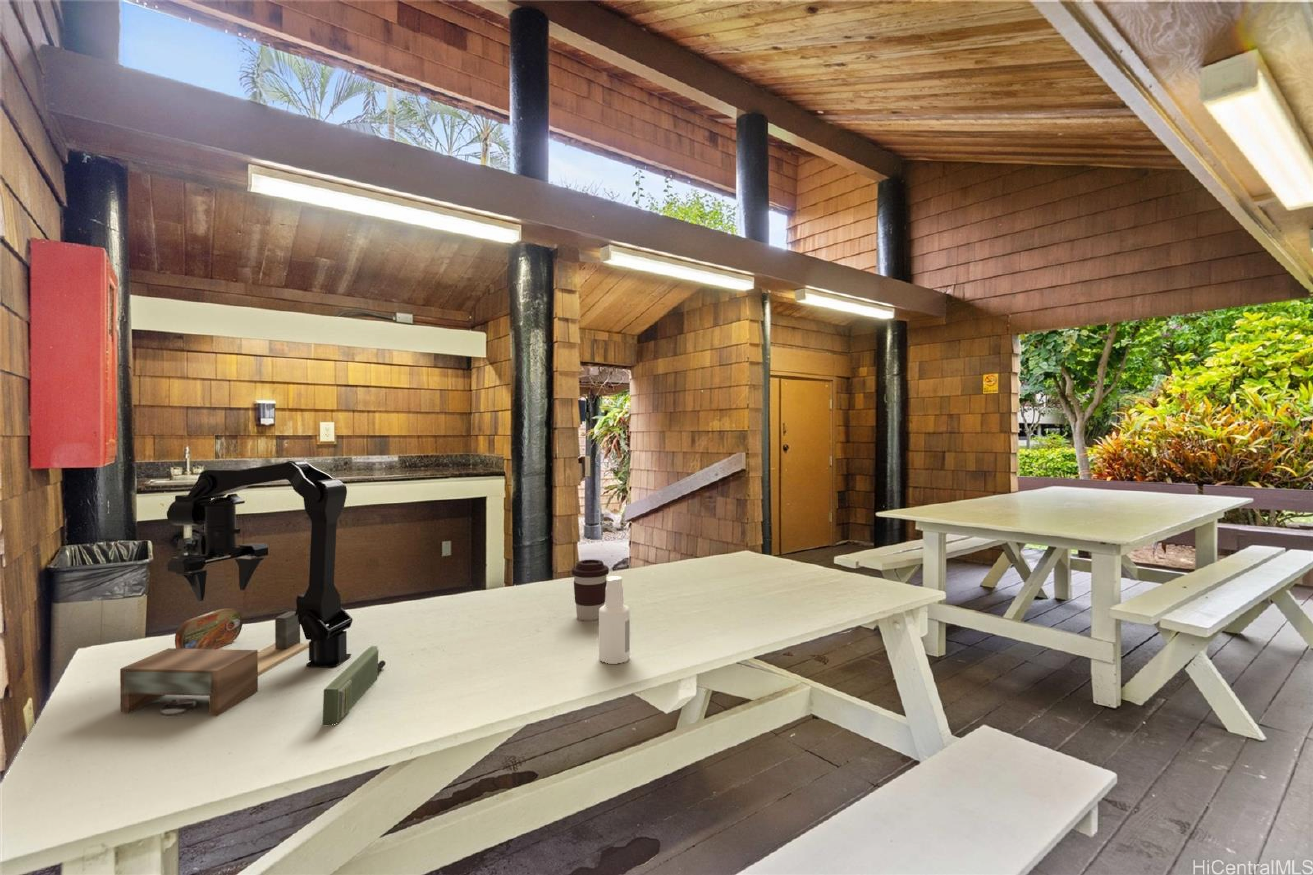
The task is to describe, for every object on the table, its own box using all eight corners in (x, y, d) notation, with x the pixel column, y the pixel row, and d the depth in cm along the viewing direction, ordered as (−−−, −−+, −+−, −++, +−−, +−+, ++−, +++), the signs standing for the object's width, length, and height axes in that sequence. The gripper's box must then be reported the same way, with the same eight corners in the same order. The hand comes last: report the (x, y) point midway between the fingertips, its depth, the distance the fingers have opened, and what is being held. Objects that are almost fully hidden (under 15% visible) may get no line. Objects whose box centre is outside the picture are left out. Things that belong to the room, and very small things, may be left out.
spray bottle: (636, 658, 133) (636, 577, 133) (613, 667, 128) (613, 583, 128) (615, 650, 138) (615, 572, 138) (592, 659, 133) (592, 578, 133)
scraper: (311, 645, 141) (311, 611, 141) (240, 686, 119) (240, 646, 118) (278, 644, 141) (278, 610, 141) (201, 685, 119) (201, 645, 119)
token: (202, 705, 111) (202, 698, 111) (180, 718, 106) (180, 711, 106) (176, 704, 111) (176, 698, 111) (153, 717, 106) (153, 710, 106)
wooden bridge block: (257, 691, 116) (257, 650, 116) (216, 716, 106) (216, 671, 106) (168, 689, 117) (168, 648, 117) (119, 714, 107) (118, 669, 107)
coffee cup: (606, 623, 158) (606, 566, 157) (569, 623, 158) (569, 566, 157) (610, 611, 167) (610, 558, 167) (574, 611, 168) (574, 557, 167)
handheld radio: (318, 727, 103) (373, 669, 128) (338, 727, 103) (389, 669, 128) (319, 688, 103) (375, 638, 128) (340, 688, 103) (391, 638, 128)
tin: (183, 662, 131) (183, 623, 131) (171, 661, 132) (171, 623, 131) (243, 638, 146) (243, 604, 146) (232, 637, 146) (232, 603, 146)
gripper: (235, 518, 145) (237, 582, 145) (148, 530, 127) (150, 604, 127) (269, 519, 141) (271, 585, 141) (185, 532, 124) (187, 608, 124)
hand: (222, 595), depth 134 cm, fingers open, 9 cm apart
